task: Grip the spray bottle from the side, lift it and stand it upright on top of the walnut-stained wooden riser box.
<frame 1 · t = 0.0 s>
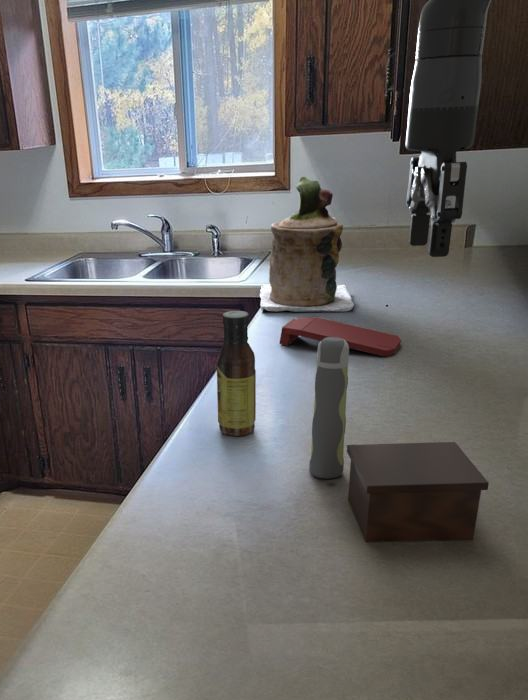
hand: (427, 250, 91), 31 cm above the worktop, tool pointing down, fingers open, 8 cm apart
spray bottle: (325, 474, 108), on the worktop
red bent slab: (339, 346, 165), on the worktop
cookie jar: (304, 302, 203), on the worktop
sauce bottle: (236, 432, 123), on the worktop
riser box: (407, 518, 95), on the worktop
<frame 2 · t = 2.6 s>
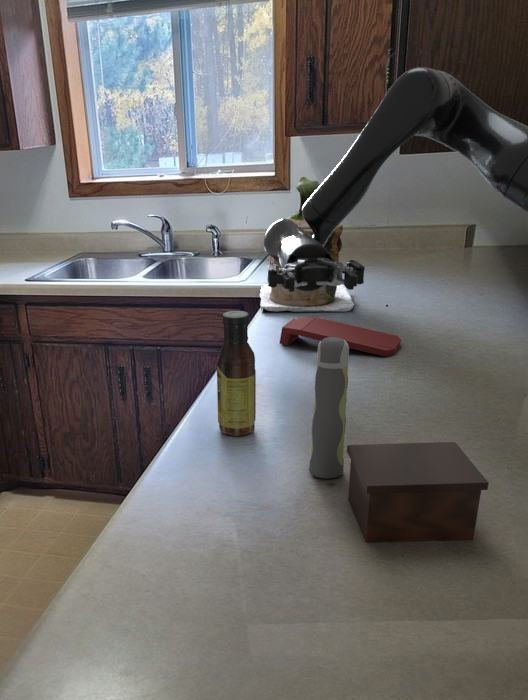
hand: (322, 283, 106), 25 cm above the worktop, tool horizontal, fingers open, 8 cm apart
nothing on the worktop moved.
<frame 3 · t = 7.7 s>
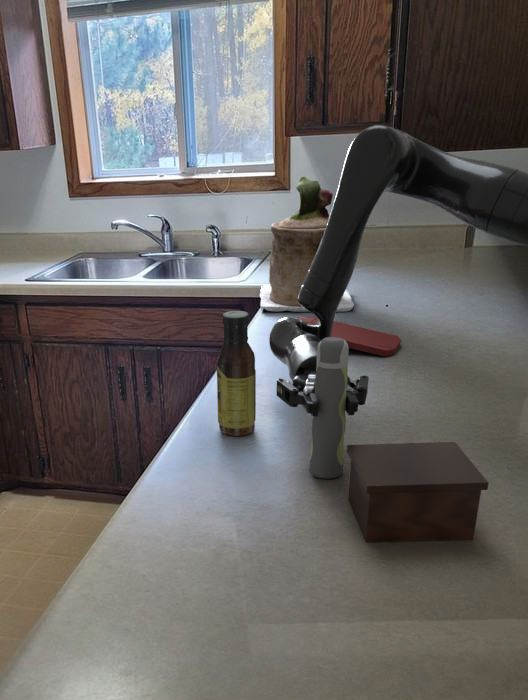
hand: (333, 409, 100), 11 cm above the worktop, tool horizontal, fingers closed on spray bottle, 4 cm apart
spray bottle: (325, 474, 108), on the worktop, touching gripper
everything else where it was.
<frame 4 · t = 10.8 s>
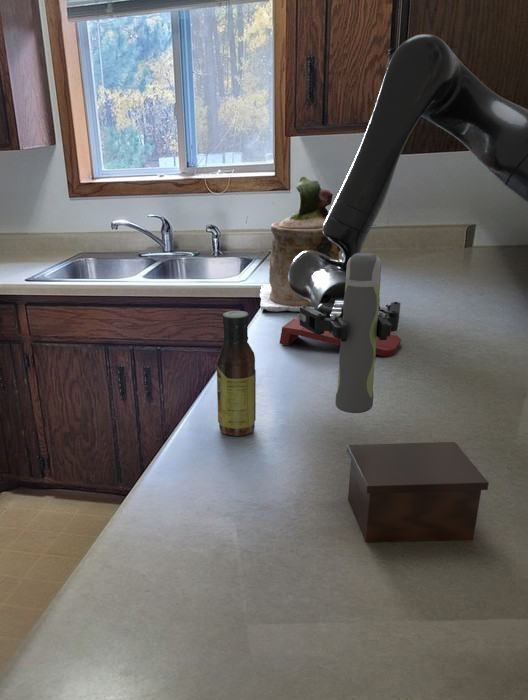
hand: (364, 333, 91), 23 cm above the worktop, tool horizontal, fingers closed on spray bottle, 4 cm apart
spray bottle: (353, 409, 99), point 11 cm above the worktop, touching gripper
everything else where it was.
when the fingers open (19 cm above the worktop, at t = 14.2 s): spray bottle stays where it is, resting on riser box.
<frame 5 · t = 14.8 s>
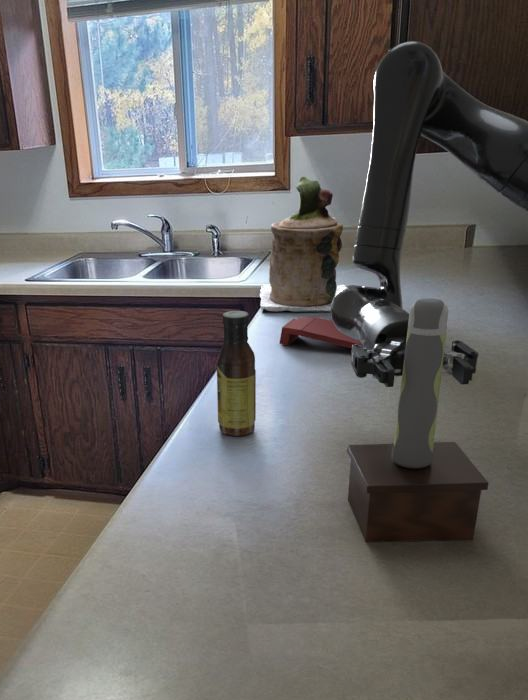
hand: (429, 377, 84), 20 cm above the worktop, tool horizontal, fingers open, 8 cm apart
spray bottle: (411, 463, 91), point 8 cm above the worktop, touching riser box
everything else where it was.
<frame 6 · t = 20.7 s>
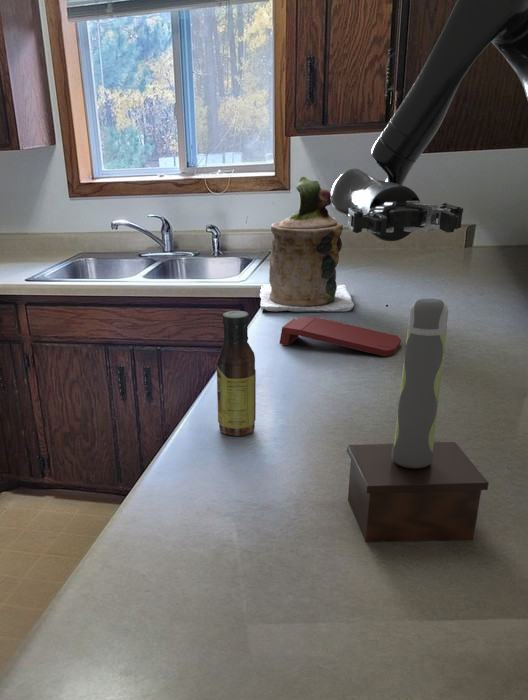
hand: (418, 225, 93), 34 cm above the worktop, tool horizontal, fingers open, 8 cm apart
nothing on the worktop moved.
at the end: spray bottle inside the target area on the riser box (0.2 cm from its centre), point 7.8 cm above the riser box's base; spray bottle tilted 0°; the gripper is holding nothing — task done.
